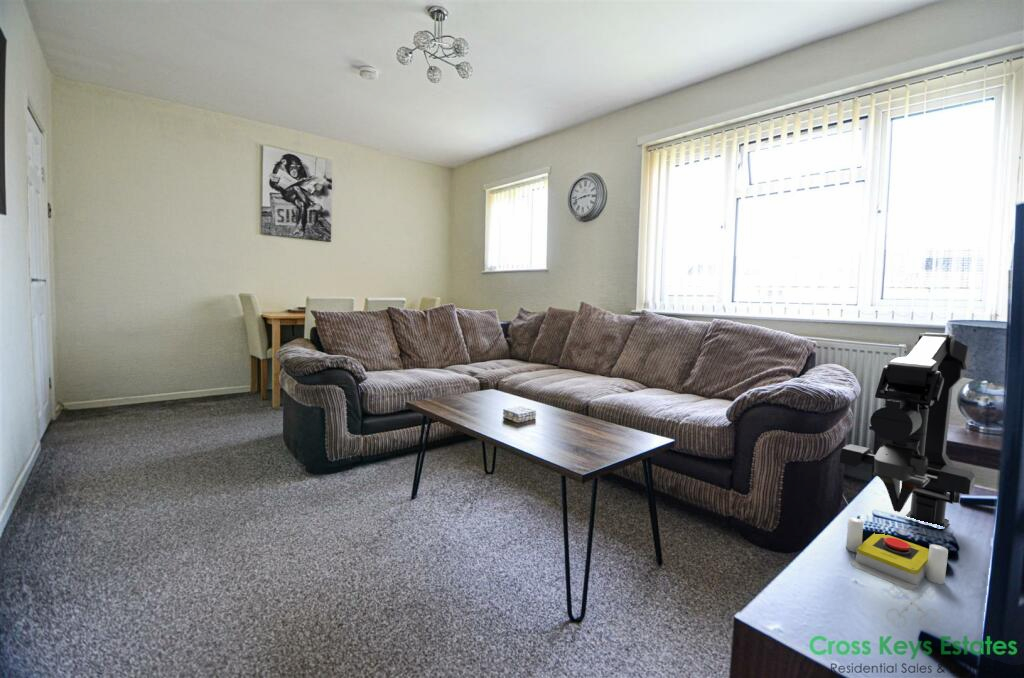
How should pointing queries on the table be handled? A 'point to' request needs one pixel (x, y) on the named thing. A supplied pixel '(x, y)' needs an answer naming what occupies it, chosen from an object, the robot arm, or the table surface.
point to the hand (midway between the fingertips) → (897, 511)
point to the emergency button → (893, 560)
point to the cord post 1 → (854, 534)
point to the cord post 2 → (937, 564)
